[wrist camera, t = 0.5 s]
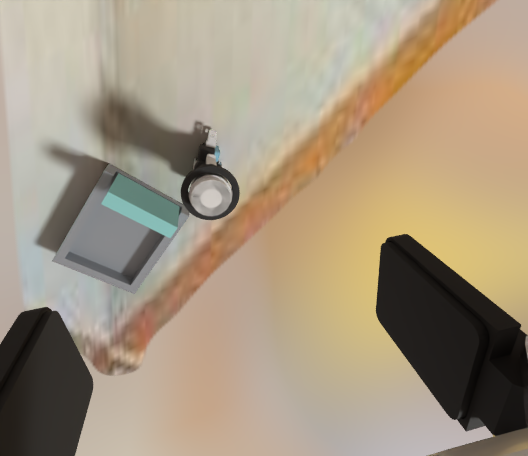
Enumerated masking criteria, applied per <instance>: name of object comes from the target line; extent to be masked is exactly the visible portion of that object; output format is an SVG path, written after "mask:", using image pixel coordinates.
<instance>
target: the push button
mask: <svg viewBox="0 0 528 456" xmlns="http://www.w3.org/2000/svg"><path fill="white" fill-rule="evenodd" d="M211 135H214V136H211ZM216 137H217V133H216V131H215V130H211V129H210V130H209V135H208V139H206V143H203V145H200V147H199V155H198V161H196V158H194V164H193V171H191V172H190V173H189V174H188V175H187V176H186V178H185V179H184V181H183V184H182V187H181V198H182V202H183V204H184V206H185V208H186V209H187V210H188V211H189V212H190V213H191V214H192V215H194V216H196V217H198V218H201V219H205V220H216V219H220V218H222V217H225V216H226V215H228V214H229V213H230V212H232V210H233V209H234V208H235V207H236V205H237V203H238V200H239V186H238V183H237V181H236V179H235V177H234V176H233V175H232V174H231V173H230V172H229V171H228V170H226V169H224V168H222V164H221V162H220V164H217V163H218V158H219V155H220V150H219V147H218V146H216V144H217V143H216ZM227 180H228V181H229V182H230V184H231V185H232V190H231V187H230V185H229V184H228V182H227ZM191 182H192V183H191ZM190 183H191V187H190V191H189V193H188V188H189V185H190Z"/></svg>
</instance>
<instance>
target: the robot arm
mask: <svg viewBox="0 0 528 456" xmlns="http://www.w3.org/2000/svg"><path fill="white" fill-rule="evenodd" d="M376 314H377V317H378V320H379V321H380V323H381V324H382V326H383V327H384V328H385V330H386V331H387V333H388V334H389V335H390V337H391V338H392V339H393V341H394V342H395V344H396V345H397V346H398V348H399V349H400V350H401V352H402V353H403V354H404V356H405V357H406V359H407V360H408V361H409V363H410V364H411V365H412V367H413V368H414V369H415V371H416V372H417V374H418V375H419V376H420V378H421V379H422V380H423V382H424V383H425V384H426V386H427V387H428V389H429V390H430V391H431V393H432V394H433V395H434V397H435V398H436V400H437V401H438V402H439V403H440V405H441V406H442V408H443V409H444V410H445V412H446V413H447V414H448V416H450V417H451V418H452V419H454V420H456V419H457V420H458V421H459V423H460V424H461V425H462V426H463V428H464V429H465V431H469V430H472V429H476V428H479V427H483V426H486V427H487V428H488V429H489V431H490V432H491V433H492V434H493V437H491V438H488V439H484V440H480V441H476V442H473V443H469V444H466V445H462V446H459V447H455V448H452V449H448V450H445V451H441V452H438V453H435V454H431V455H428V456H528V335H526V334H525V333H524V332H523V331H521V330H520V327H521V324H520V323H518V322H517V321H516V320H515V319H513V318H512V317H511V316H510V315H508V314H507V313H506V312H505V311H503V310H502V309H501V308H499V307H498V306H497V305H496V304H494V303H493V302H492V301H491V300H489V299H488V298H487V297H486V296H485V295H483V294H482V293H481V292H479V291H478V290H477V289H476V288H475V287H473V286H472V285H471V284H469V283H468V282H467V281H466V280H465V279H463V278H462V277H461V276H459V275H458V274H457V273H456V272H455V271H453V270H452V269H451V268H450V267H448V266H447V265H446V264H444V263H443V262H442V261H441V260H440V259H438V258H437V257H436V256H435V255H433V254H432V253H431V252H429V251H428V250H427V249H426V248H424V247H423V246H422V245H421V244H419V243H418V242H417V241H416V240H414V239H413V238H412V237H411V236H409V235H408V234H403V235H399V236H394V237H389V238H387V240H386V242H385V243H383V244H382V246H381V253H380V266H379V278H378V292H377V305H376ZM92 391H93V379H92V376H91V374H90V372H89V370H88V368H87V366H86V365H85V362H84V361H83V359H82V357H81V355H80V353H79V351H78V349H77V347H76V345H75V343H74V341H73V339H72V337H71V335H70V333H69V331H68V329H67V328H66V326H65V324H64V322H63V320H62V318H61V316H60V314H59V313H58V312H57V311H52V310H51V309H50V308H48V307H44V308H39V309H34V310H29V311H24V312H22V313H21V314H20V315H19V316H18V317H17V319H16V321H15V322H14V324H13V325H12V327H11V328H10V330H9V331H8V333H7V335H6V336H5V338H4V339H3V341H2V342H1V344H0V456H75V453H76V449H77V446H78V442H79V438H80V434H81V431H82V428H83V424H84V420H85V417H86V413H87V409H88V406H89V402H90V398H91V395H92Z"/></svg>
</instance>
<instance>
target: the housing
mask: <svg viewBox="0 0 528 456" xmlns="http://www.w3.org/2000/svg"><path fill="white" fill-rule="evenodd" d="M118 173H119V174H121V175H123V176H125V177H126V178H128V179H130V180H132V181H134V182H136V183H137V184H139V185H141V186H143V187H145V188H146V189H148V190H150V191H152V192H154V193H156V194H157V195H159V196H161V197H163V198H165V199H167V200H168V201H170V202H172V203H174V204H176V205H177V206H179V219H178V228H177V230H176V231H175V233H174V234H173V235H172V237H171V238H168V237H166V236H164V235H162V234H160V233H158V232H156V231H154V230H152V229H150V228H148V227H146V226H144V225H142V224H140V223H138V222H136V221H134V220H132V219H130V218H128V217H126V216H124V215H122V214H120V213H118V212H116V211H114V210H112V209H110V208H108V207H106V206H104V205H102V204H101V203H102V201H103V199H104V198H105V196H106V194H107V192H108V191H109V189H110V187H111V185H112V183H113V182H114V180H115V178H116V177H117V175H118ZM188 217H189V211H188V210H187V209H186V208H185V206H184V205H183V204H181V203H179V202H178V201H176V200H174V199H172V198H170V197H169V196H167V195H165V194H163V193H161V192H160V191H158V190H156V189H154V188H152V187H151V186H149V185H147V184H145V183H143V182H142V181H140V180H138V179H136V178H134V177H133V176H131V175H129V174H127V173H125V172H123V171H122V170H120V169H118V168H116V167H114V166H113V165H111V164H108V166H107V167H106V169H105V170H104V172H103V173H102V175H101V177H100V179H99V180H98V182H97V184H96V186H95V187H94V189H93V191H92V193H91V194H90V196H89V198H88V199H87V201H86V203H85V205H84V206H83V208H82V210H81V212H80V213H79V215H78V217H77V219H76V220H75V222H74V224H73V225H72V227H71V229H70V231H69V232H68V234H67V236H66V238H65V239H64V241H63V243H62V245H61V246H60V248H59V250H58V252H57V253H56V255H55V257H54V258H53V260H52V261H53V262H56V263H58V264H61V265H63V266H66V267H68V268H71V269H73V270H76V271H78V272H81V273H83V274H86V275H88V276H91V277H93V278H96V279H98V280H101V281H103V282H106V283H108V284H111V285H113V286H116V287H118V288H121V289H124V290H126V291H129V292H131V293H134V294H135V293H136V291H137V290H138V288H139V287H140V285H141V284H142V283H143V281H144V280H145V278H146V277H147V275H148V274H149V273H150V271H151V270H152V268H153V267H154V266H155V264H156V263H157V261H158V260H159V258H160V257H161V256H162V254H163V253H164V251H165V250H166V248H167V247H168V246H169V244H170V243H171V241H172V240H173V239H174V237H175V236H176V234H177V233H178V231H179V230H180V229H181V227H182V226H183V224H184V223H185V221H186V220H187V219H188Z"/></svg>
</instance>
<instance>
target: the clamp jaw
mask: <svg viewBox="0 0 528 456" xmlns="http://www.w3.org/2000/svg"><path fill="white" fill-rule="evenodd" d="M101 204H102V205H104V206H106V207H108V208H110V209H112V210H114V211H116V212H118V213H120V214H122V215H124V216H126V217H128V218H130V219H132V220H134V221H136V222H138V223H140V224H142V225H144V226H146V227H148V228H150V229H152V230H154V231H156V232H158V233H160V234H162V235H164V236H166V237H168V238H171V237H172V235H173V234H174V233H175V231H176V230H177V228H178V219H179V206H177V205H176V204H174V203H172V202H170V201H168V200H167V199H165V198H163V197H161V196H159V195H157V194H156V193H154V192H152V191H150V190H148V189H146V188H145V187H143V186H141V185H139V184H137V183H136V182H134V181H132V180H130V179H128V178H126V177H125V176H123V175H121V174H119V173H118V175H117V177H116V178H115V180H114V182H113V183H112V185H111V187H110V189H109V191H108V192H107V194H106V196H105V198H104V199H103V201H102V203H101Z"/></svg>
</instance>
